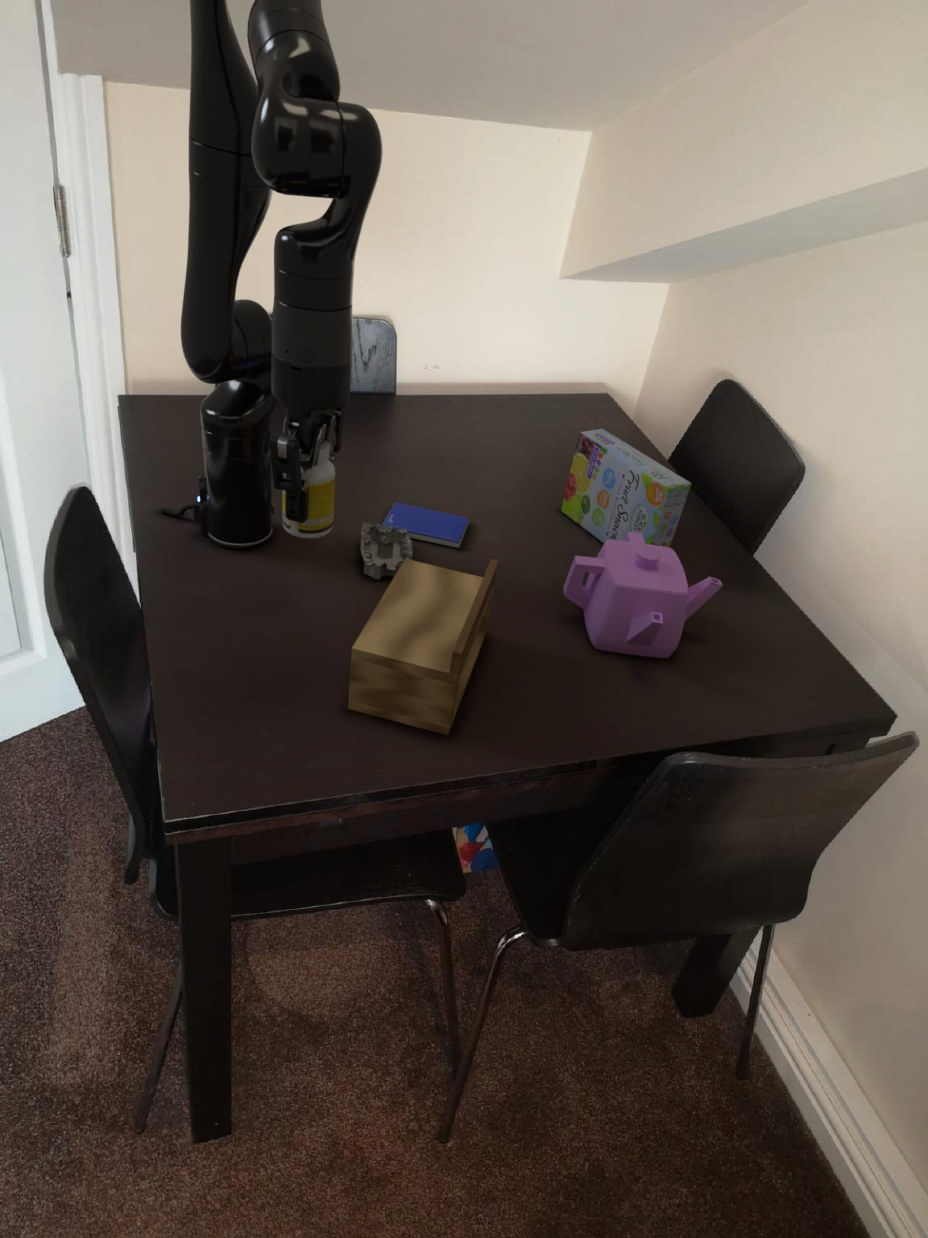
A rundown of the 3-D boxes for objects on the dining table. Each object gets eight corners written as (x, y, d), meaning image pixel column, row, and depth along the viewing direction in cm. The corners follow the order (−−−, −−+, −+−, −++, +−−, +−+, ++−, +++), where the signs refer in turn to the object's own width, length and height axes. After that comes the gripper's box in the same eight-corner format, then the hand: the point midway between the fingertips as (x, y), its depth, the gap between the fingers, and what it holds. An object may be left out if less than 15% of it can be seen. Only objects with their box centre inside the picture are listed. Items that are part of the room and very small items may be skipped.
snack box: (666, 567, 127) (694, 482, 119) (640, 574, 125) (667, 487, 116) (583, 506, 141) (602, 425, 132) (558, 511, 138) (576, 429, 129)
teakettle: (615, 580, 122) (635, 509, 115) (708, 636, 113) (737, 563, 106) (542, 616, 112) (560, 541, 104) (639, 682, 103) (666, 604, 95)
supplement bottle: (342, 525, 88) (347, 442, 82) (314, 545, 83) (317, 460, 78) (301, 509, 89) (303, 427, 83) (271, 529, 85) (271, 443, 79)
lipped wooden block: (347, 709, 91) (353, 625, 84) (399, 614, 108) (407, 538, 101) (448, 735, 90) (461, 653, 83) (485, 636, 106) (499, 560, 99)
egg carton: (411, 582, 114) (414, 558, 112) (359, 579, 113) (360, 555, 111) (409, 543, 123) (411, 520, 120) (360, 540, 122) (361, 517, 119)
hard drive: (382, 524, 123) (459, 540, 123) (395, 500, 130) (469, 516, 129) (381, 532, 124) (458, 549, 123) (394, 509, 131) (468, 525, 130)
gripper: (305, 321, 81) (302, 472, 91) (239, 362, 70) (244, 529, 79) (375, 337, 80) (364, 487, 90) (320, 381, 69) (315, 547, 79)
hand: (308, 506), depth 85 cm, fingers closed on supplement bottle, 5 cm apart
